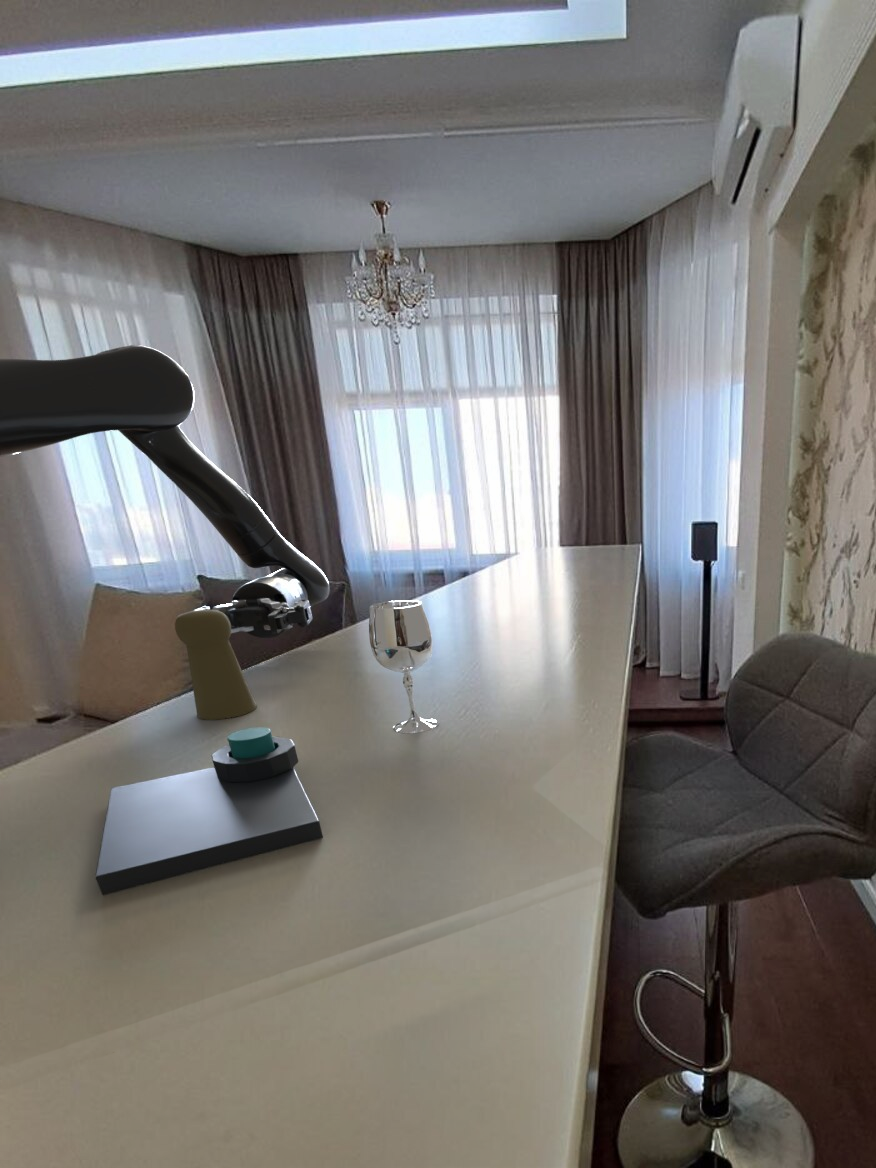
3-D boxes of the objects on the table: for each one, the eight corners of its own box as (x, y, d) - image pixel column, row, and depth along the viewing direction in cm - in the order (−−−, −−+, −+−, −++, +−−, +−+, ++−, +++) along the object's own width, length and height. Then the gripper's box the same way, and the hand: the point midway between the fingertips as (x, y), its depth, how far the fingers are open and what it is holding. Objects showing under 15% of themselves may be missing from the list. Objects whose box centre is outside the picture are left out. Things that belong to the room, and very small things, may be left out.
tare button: (278, 755, 55) (272, 735, 54) (234, 764, 54) (228, 743, 53) (273, 744, 58) (267, 724, 57) (231, 752, 56) (225, 732, 56)
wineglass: (423, 738, 65) (403, 610, 60) (374, 733, 67) (350, 609, 62) (455, 719, 70) (438, 600, 65) (408, 715, 72) (388, 599, 67)
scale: (331, 836, 48) (322, 797, 46) (102, 896, 42) (84, 854, 40) (295, 763, 61) (287, 731, 59) (117, 801, 55) (104, 766, 53)
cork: (227, 721, 73) (197, 616, 68) (184, 717, 75) (152, 615, 70) (268, 704, 78) (243, 606, 73) (227, 701, 80) (200, 605, 75)
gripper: (207, 581, 94) (161, 599, 79) (315, 574, 96) (290, 591, 81) (223, 636, 97) (181, 663, 82) (327, 628, 99) (304, 653, 84)
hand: (235, 627), depth 82 cm, fingers open, 8 cm apart
